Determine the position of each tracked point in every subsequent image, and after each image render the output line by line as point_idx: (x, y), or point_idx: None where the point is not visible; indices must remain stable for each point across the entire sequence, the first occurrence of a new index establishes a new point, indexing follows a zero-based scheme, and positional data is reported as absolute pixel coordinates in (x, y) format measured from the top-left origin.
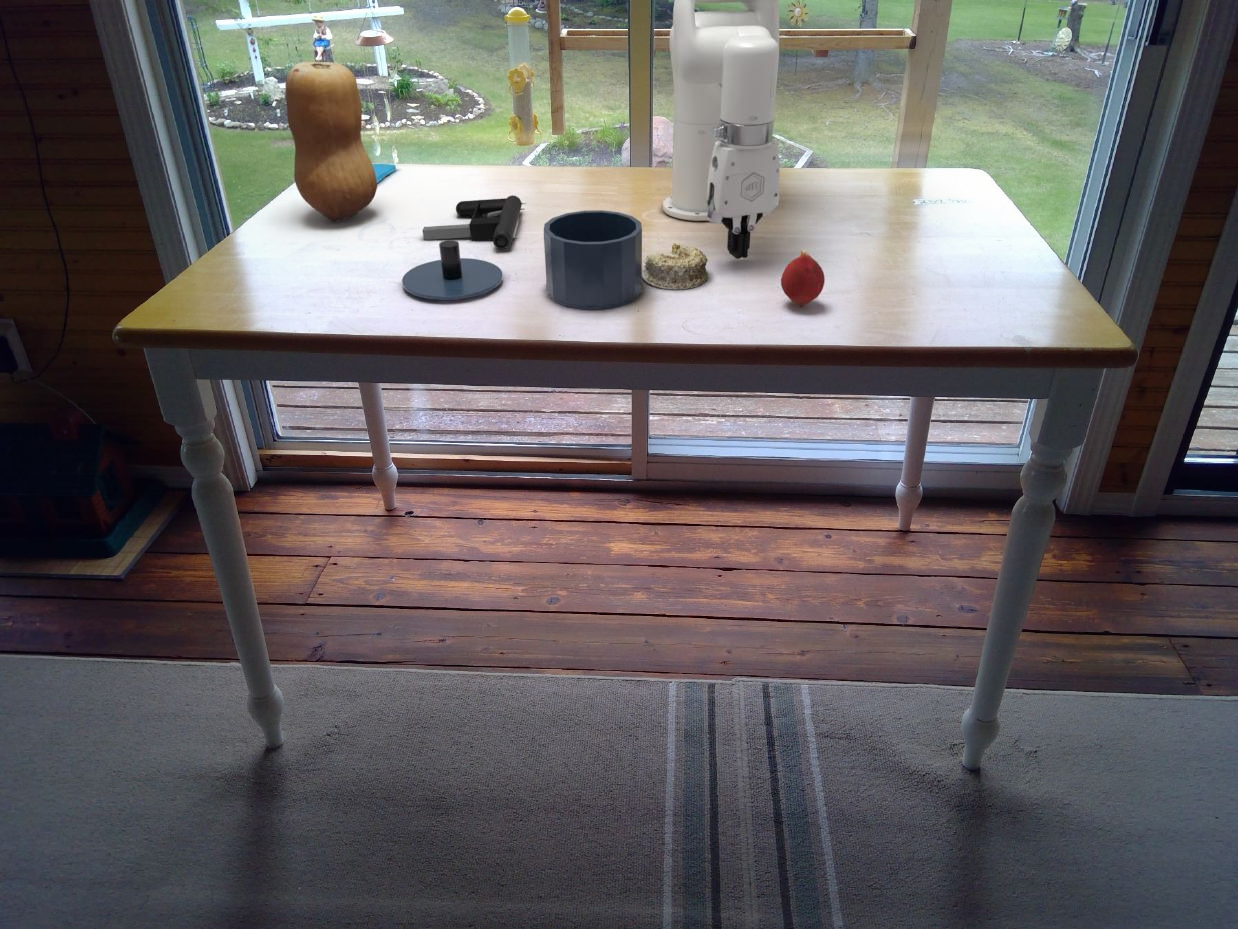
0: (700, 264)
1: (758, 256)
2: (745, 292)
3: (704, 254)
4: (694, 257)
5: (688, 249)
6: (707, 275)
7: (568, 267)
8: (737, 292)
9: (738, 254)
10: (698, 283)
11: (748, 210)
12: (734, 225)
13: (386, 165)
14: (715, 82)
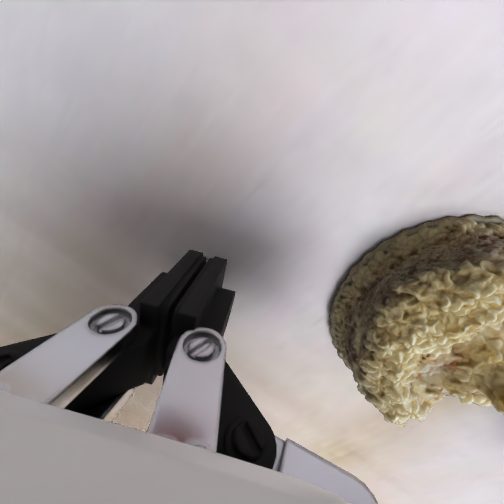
0: (486, 264)
1: (128, 267)
2: (391, 35)
3: (385, 318)
4: (492, 312)
5: (411, 377)
6: (373, 253)
7: None
8: (416, 61)
9: (223, 265)
10: (464, 221)
11: (25, 480)
12: (213, 379)
13: None
14: None
